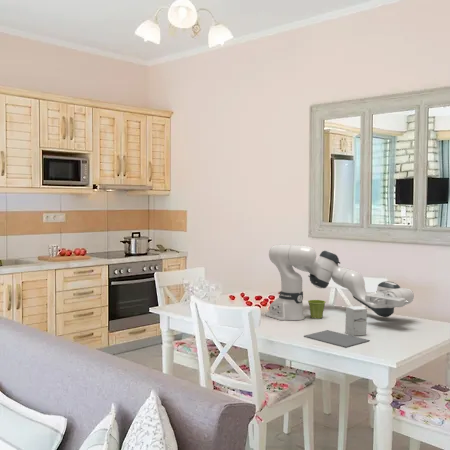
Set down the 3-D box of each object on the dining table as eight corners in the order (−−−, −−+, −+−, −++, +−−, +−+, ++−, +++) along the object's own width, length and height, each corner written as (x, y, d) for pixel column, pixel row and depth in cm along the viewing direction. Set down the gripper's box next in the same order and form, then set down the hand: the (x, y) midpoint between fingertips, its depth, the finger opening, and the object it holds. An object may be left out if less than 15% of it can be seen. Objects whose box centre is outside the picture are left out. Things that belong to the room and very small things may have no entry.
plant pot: (328, 318, 292) (329, 302, 291) (313, 320, 288) (313, 303, 288) (319, 315, 300) (319, 299, 300) (304, 316, 297) (304, 300, 296)
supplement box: (352, 336, 254) (353, 309, 254) (344, 332, 262) (345, 306, 261) (366, 335, 256) (367, 308, 256) (358, 331, 264) (359, 305, 263)
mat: (303, 336, 253) (303, 335, 253) (327, 331, 264) (327, 330, 264) (345, 347, 235) (345, 346, 235) (369, 341, 246) (369, 340, 246)
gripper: (410, 308, 269) (394, 312, 260) (374, 302, 285) (358, 305, 276) (410, 295, 269) (394, 298, 260) (375, 290, 285) (358, 293, 276)
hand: (375, 302), depth 268 cm, fingers closed
